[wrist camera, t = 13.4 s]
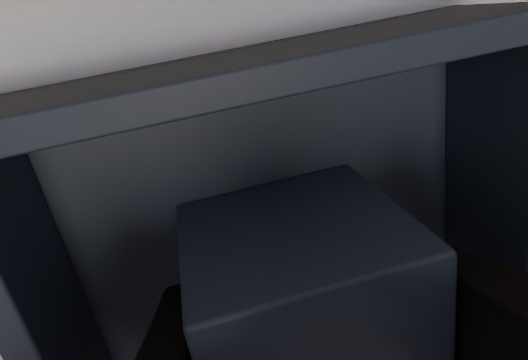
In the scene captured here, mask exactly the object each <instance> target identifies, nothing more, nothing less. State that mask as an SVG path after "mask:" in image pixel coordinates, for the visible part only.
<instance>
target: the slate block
mask: <svg viewBox="0 0 528 360" xmlns="http://www.w3.org/2000/svg"><path fill="white" fill-rule="evenodd" d="M176 218H177V235H178V252H179V270H180V287H181V304H182V322H183V333H184V336H185V339H186V342H187V345H188V348H189V352H190V355H191V358H192V360H455V338H456V285H457V254H456V251H455V250H454V249H453V248H452V247H451V246H449V245H448V244H447V243H446V242H444V241H443V240H442V239H441V238H439V237H438V236H437V235H435V234H434V233H433V232H432V231H430V230H429V229H428V228H427V227H425V226H424V225H423V224H422V223H420V222H419V221H418V220H417V219H415V218H414V217H413V216H412V215H410V214H409V213H408V212H407V211H405V210H404V209H403V208H402V207H400V206H399V205H398V204H397V203H395V202H394V201H393V200H392V199H390V198H389V197H388V196H387V195H385V194H384V193H383V192H382V191H380V190H379V189H378V188H376V187H375V186H374V185H373V184H371V183H370V182H369V181H368V180H366V179H365V178H364V177H363V176H361V175H360V174H359V173H358V172H356V171H355V170H354V169H353V168H351V167H350V166H349V165H342V166H338V167H334V168H329V169H325V170H321V171H317V172H313V173H309V174H305V175H301V176H297V177H293V178H289V179H284V180H280V181H276V182H272V183H268V184H264V185H260V186H256V187H252V188H248V189H244V190H240V191H235V192H231V193H227V194H223V195H219V196H215V197H211V198H207V199H203V200H199V201H195V202H190V203H186V204H182V205H179V206H177V207H176Z"/></svg>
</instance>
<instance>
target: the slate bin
mask: <svg viewBox="0 0 528 360" xmlns="http://www.w3.org/2000/svg"><path fill="white" fill-rule="evenodd" d="M342 165H349V166H350V167H351V168H353V169H354V170H355V171H356V172H358V173H359V174H360V175H361V176H363V177H364V178H365V179H366V180H368V181H369V182H370V183H371V184H373V185H374V186H375V187H376V188H378V189H379V190H380V191H382V192H383V193H384V194H385V195H387V196H388V197H389V198H390V199H392V200H393V201H394V202H395V203H397V204H398V205H399V206H400V207H402V208H403V209H404V210H405V211H407V212H408V213H409V214H410V215H412V216H413V217H414V218H415V219H417V220H418V221H419V222H420V223H422V224H423V225H424V226H425V227H427V228H428V229H429V230H430V231H432V232H433V233H434V234H435V235H437V236H438V237H439V238H441V239H442V240H443V241H444V242H446V243H447V244H449V245H452V246H454V247H457V248H460V249H462V250H465V251H467V252H470V253H473V254H475V255H478V256H481V257H483V258H486V259H489V260H492V261H495V262H497V263H500V264H503V265H506V266H509V267H512V268H515V269H519V270H522V271H525V272H528V2H518V3H496V4H474V5H454V6H449V7H444V8H439V9H434V10H428V11H423V12H418V13H413V14H408V15H403V16H398V17H393V18H388V19H382V20H377V21H372V22H367V23H362V24H357V25H352V26H347V27H342V28H336V29H331V30H326V31H321V32H316V33H311V34H306V35H301V36H296V37H291V38H285V39H280V40H275V41H270V42H265V43H260V44H255V45H250V46H245V47H239V48H234V49H229V50H224V51H219V52H214V53H209V54H204V55H199V56H193V57H188V58H183V59H178V60H173V61H168V62H163V63H158V64H153V65H147V66H142V67H137V68H132V69H127V70H122V71H117V72H112V73H107V74H101V75H96V76H91V77H86V78H81V79H76V80H71V81H66V82H61V83H56V84H50V85H45V86H40V87H35V88H30V89H25V90H20V91H15V92H10V93H4V94H0V354H1V356H2V358H3V360H134V359H135V357H136V355H137V352H138V350H139V348H140V346H141V344H142V342H143V340H144V338H145V335H146V333H147V331H148V329H149V326H150V324H151V322H152V319H153V317H154V315H155V312H156V310H157V307H158V305H159V302H160V299H161V296H162V294H163V292H164V290H165V289H166V287H170V286H174V285H177V284H180V270H179V252H178V235H177V218H176V207H177V206H179V205H182V204H186V203H190V202H195V201H199V200H203V199H207V198H211V197H215V196H219V195H223V194H227V193H231V192H235V191H240V190H244V189H248V188H252V187H256V186H260V185H264V184H268V183H272V182H276V181H280V180H284V179H289V178H293V177H297V176H301V175H305V174H309V173H313V172H317V171H321V170H325V169H329V168H334V167H338V166H342Z"/></svg>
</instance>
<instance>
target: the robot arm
mask: <svg viewBox="0 0 528 360" xmlns="http://www.w3.org/2000/svg"><path fill="white" fill-rule="evenodd" d="M448 245H449V244H448ZM449 246H451V247H452V248H453V249H454V250H455V251H456V254H457V285H456V338H455V360H528V272H525V271H522V270H519V269H515V268H512V267H509V266H506V265H503V264H500V263H497V262H495V261H492V260H489V259H486V258H483V257H481V256H478V255H475V254H473V253H470V252H467V251H465V250H462V249H460V248H457V247H454V246H452V245H449ZM134 360H192V358H191V355H190V352H189V348H188V345H187V342H186V339H185V336H184V333H183V322H182V304H181V287H180V284H177V285H174V286H170V287H166V289H165V290H164V292H163V294H162V296H161V299H160V302H159V305H158V307H157V310H156V312H155V315H154V317H153V319H152V322H151V324H150V326H149V329H148V331H147V333H146V335H145V338H144V340H143V342H142V344H141V346H140V348H139V350H138V352H137V355H136V357H135V359H134Z"/></svg>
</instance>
